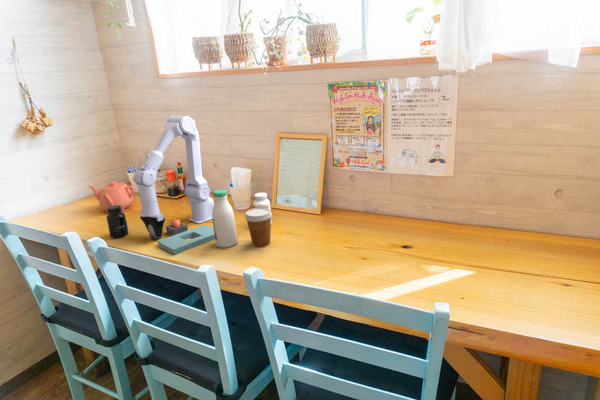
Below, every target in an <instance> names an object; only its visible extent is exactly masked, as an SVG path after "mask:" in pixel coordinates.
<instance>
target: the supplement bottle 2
mask: <svg viewBox="0 0 600 400" xmlns="http://www.w3.org/2000/svg"><path fill="white" fill-rule="evenodd" d="M267 197H268V195H267V193H266V192H257V193H255V194H254V199H255V200H254V201H253V204H252V205H253V209H254V208H268V209H270V211H271V212H272V209H271V201H270V200H269V199H268V198H267ZM272 224H273V220H272V217H271V225H272Z"/></svg>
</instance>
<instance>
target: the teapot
mask: <svg viewBox="0 0 600 400" xmlns="http://www.w3.org/2000/svg"><path fill="white" fill-rule="evenodd" d="M87 187H89V188H90V189H91V190H92V191H93V193H94V196H95V198H96V200H97V201H99V202H98V203H99V207H100V208H101V209H102V210H103V211H105V213H106V214H109V213H108V209H107V208H108V207H110V206H115V205H119V206H121V210H122V211H121V212H123V213H125V211H126V208H131V207H132V204H133V201H134V194H135V192H136V186H134V185H128V184H127V183H125V182H117V181H110V182H109V183H108V184H106V185H104V186H102V187H101V189H100V190H98V188H97V187H96V186H95V185H87ZM99 191H100V192H99ZM130 206H131V207H130Z"/></svg>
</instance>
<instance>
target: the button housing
mask: <svg viewBox="0 0 600 400" xmlns="http://www.w3.org/2000/svg"><path fill="white" fill-rule="evenodd" d="M180 225H181V226H179V227H177V228H173V227H172V223H171V224H168V225H165V230H166V234H168V235H169V236H170V237H171V236H173V235H176V234H179V233H182V232H185V231H188V230H189V229H188V224H186V223H183V222H181V221H180Z"/></svg>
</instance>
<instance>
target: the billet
mask: <svg viewBox="0 0 600 400" xmlns="http://www.w3.org/2000/svg"><path fill="white" fill-rule="evenodd" d="M147 225H148V230H149V232H148V236H149V240H150V241H152V242H154V241H159V240H162V239H163V235H162V236H159V237H156V235H155V232H154V229H153V227H152V225H151V224H150V223H149V224H147ZM148 230H147V231H148Z"/></svg>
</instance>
